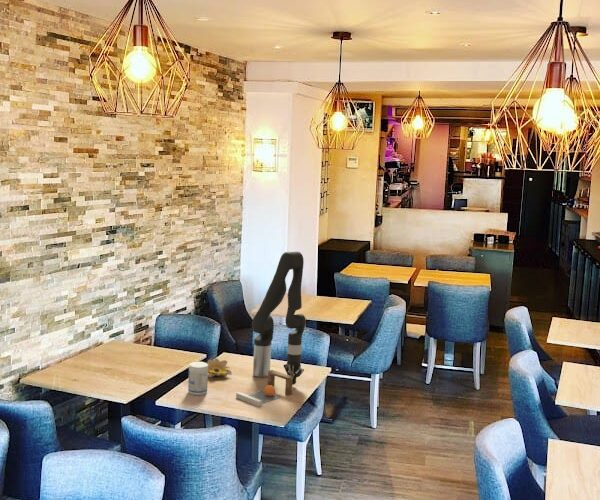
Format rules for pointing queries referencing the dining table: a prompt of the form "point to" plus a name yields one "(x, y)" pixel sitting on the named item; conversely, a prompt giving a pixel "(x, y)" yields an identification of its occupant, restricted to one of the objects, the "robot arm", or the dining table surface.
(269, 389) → the ball
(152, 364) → the dining table surface
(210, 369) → the decorative flower
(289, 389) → the bridge
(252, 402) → the stopper strip
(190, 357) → the dining table surface
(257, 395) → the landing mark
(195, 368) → the supplement tub
